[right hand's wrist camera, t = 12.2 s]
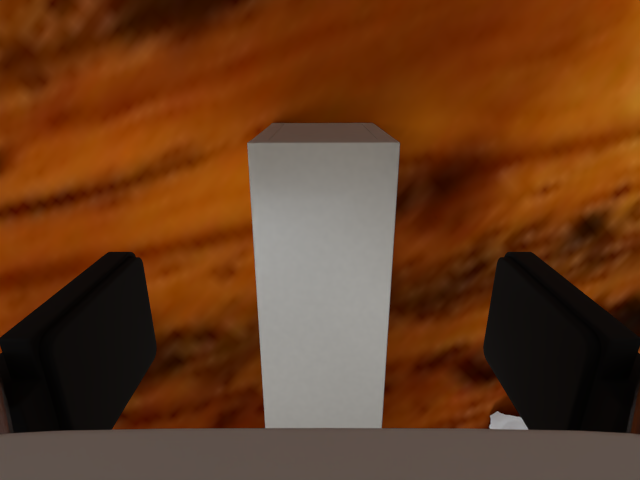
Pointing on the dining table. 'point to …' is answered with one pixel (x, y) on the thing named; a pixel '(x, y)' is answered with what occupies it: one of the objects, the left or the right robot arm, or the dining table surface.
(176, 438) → the right robot arm
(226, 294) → the dining table surface
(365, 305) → the cabinet
